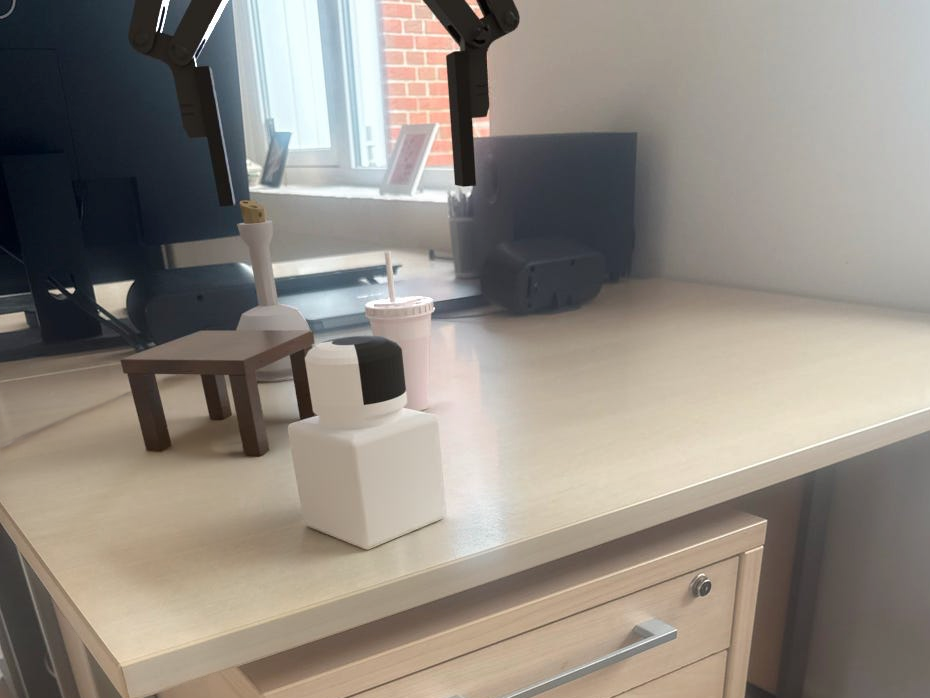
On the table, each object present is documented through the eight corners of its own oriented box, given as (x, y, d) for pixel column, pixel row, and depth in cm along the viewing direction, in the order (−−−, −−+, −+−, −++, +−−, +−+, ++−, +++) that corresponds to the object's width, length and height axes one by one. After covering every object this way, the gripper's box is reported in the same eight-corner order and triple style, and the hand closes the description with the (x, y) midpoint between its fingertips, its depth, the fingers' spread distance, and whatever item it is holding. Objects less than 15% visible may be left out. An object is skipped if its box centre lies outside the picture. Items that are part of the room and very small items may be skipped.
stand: (142, 451, 80) (119, 359, 76) (218, 413, 90) (200, 330, 86) (261, 457, 76) (243, 360, 73) (326, 417, 86) (313, 330, 82)
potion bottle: (281, 363, 109) (253, 197, 100) (334, 369, 104) (310, 195, 95) (225, 380, 103) (190, 205, 94) (278, 387, 98) (247, 203, 89)
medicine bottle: (382, 496, 66) (361, 325, 60) (449, 518, 62) (433, 335, 56) (302, 526, 62) (271, 346, 56) (366, 552, 57) (340, 358, 52)
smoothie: (368, 405, 89) (348, 251, 82) (429, 395, 91) (415, 244, 84) (388, 420, 84) (369, 257, 77) (452, 409, 86) (440, 249, 79)
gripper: (-25, -362, 36) (113, 217, 47) (572, -358, 40) (577, 179, 50) (19, -285, 43) (132, 209, 53) (530, -288, 46) (542, 176, 57)
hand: (348, 195), depth 52 cm, fingers open, 13 cm apart
